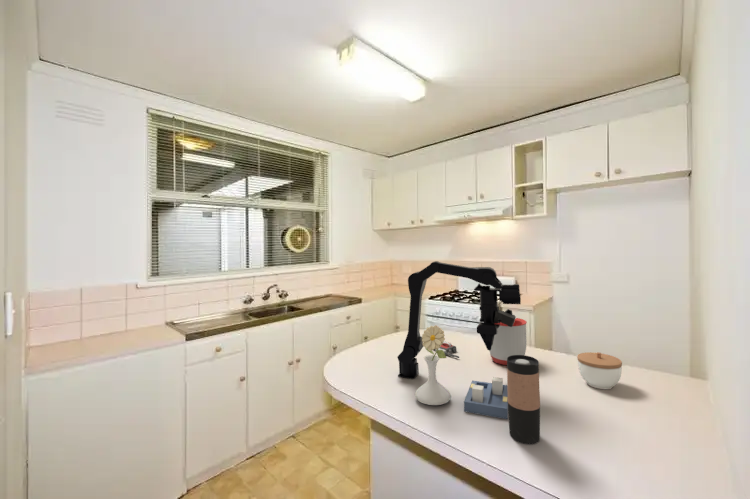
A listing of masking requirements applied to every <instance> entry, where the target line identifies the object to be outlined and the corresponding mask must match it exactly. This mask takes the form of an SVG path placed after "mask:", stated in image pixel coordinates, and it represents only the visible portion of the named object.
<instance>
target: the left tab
mask: <svg viewBox="0 0 750 499" xmlns="http://www.w3.org/2000/svg"><path fill="white" fill-rule="evenodd" d="M472 401H473V402H479V403H483V401H484V386H480V385H473V387H472Z"/></svg>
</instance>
